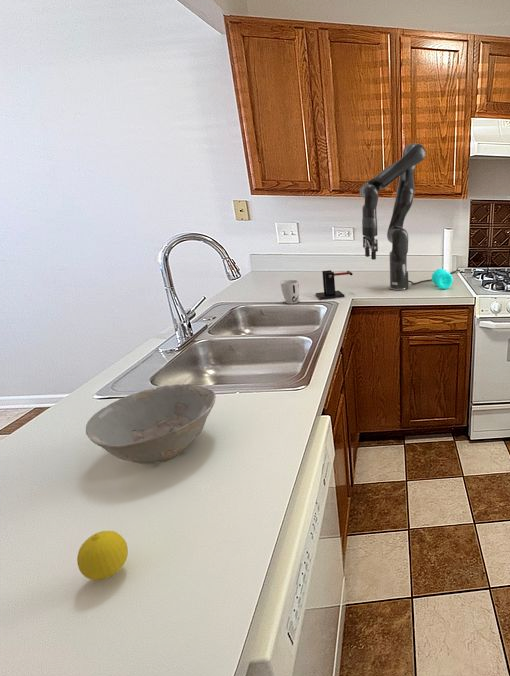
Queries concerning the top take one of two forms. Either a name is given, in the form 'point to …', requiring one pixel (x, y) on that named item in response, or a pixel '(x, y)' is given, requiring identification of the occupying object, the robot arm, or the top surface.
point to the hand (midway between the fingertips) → (370, 258)
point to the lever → (343, 273)
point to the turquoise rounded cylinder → (440, 282)
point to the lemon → (102, 555)
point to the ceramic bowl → (152, 423)
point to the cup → (290, 291)
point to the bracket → (329, 287)
